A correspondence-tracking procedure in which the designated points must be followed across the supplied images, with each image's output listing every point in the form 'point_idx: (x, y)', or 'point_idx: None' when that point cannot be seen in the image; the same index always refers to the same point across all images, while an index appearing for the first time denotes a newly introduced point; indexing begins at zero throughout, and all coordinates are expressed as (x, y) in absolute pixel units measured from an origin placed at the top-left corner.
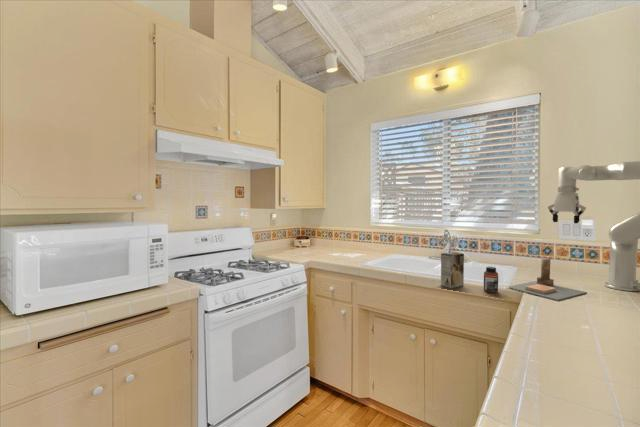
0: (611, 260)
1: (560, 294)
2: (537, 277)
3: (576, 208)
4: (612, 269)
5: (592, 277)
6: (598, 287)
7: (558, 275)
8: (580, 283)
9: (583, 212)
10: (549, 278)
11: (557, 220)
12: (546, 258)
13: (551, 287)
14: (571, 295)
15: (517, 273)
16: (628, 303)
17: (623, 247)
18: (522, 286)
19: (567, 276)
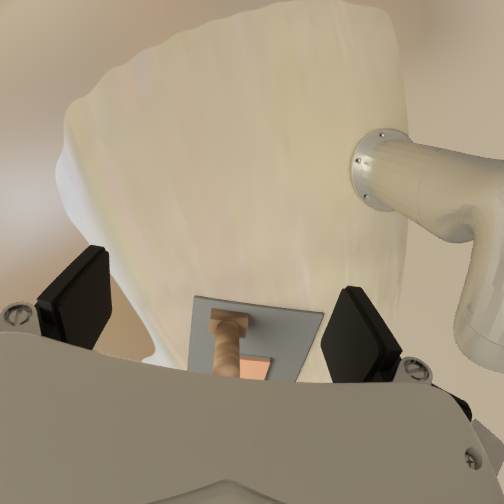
0: (410, 214)
1: (282, 371)
2: (208, 332)
3: (440, 435)
4: (395, 208)
5: (297, 57)
6: (339, 216)
7: (201, 120)
8: (291, 201)
9: (461, 402)
10: (239, 331)
11: (100, 264)
12: (227, 374)
13: (260, 364)
14: (300, 362)
15: (102, 216)
16: (387, 322)
17: (473, 238)
18: (203, 369)
19: (229, 110)
